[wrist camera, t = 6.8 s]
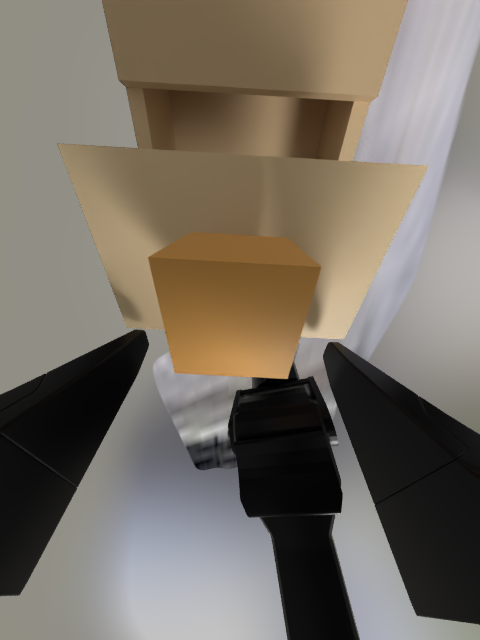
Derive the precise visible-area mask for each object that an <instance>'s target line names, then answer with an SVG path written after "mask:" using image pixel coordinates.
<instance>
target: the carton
mask: <svg viewBox="0 0 480 640" xmlns="http://www.w3.org/2000/svg"><path fill="white" fill-rule="evenodd" d="M407 2H408V0H102V3H103V8H104V13H105V17H106V22H107V27H108V31H109V36H110V41H111V46H112V51H113V55H114V60H115V65H116V70H117V74H118V79H119V81H120V82H121V83H122V84H123V85H124V86H125V87H126V90H127V95H128V100H129V105H130V110H131V115H132V120H133V125H134V130H135V135H136V140H137V145H138V148H141V149H158V150H174V151H191V152H207V153H224V154H241V155H257V156H274V157H290V158H307V159H323V160H340V161H353V158H354V154H355V151H356V148H357V145H358V141H359V138H360V135H361V131H362V128H363V125H364V121H365V118H366V115H367V112H368V108H369V105H370V102H371V101H373V100H374V99H375V98H376V97H378V94H379V91H380V88H381V85H382V82H383V78H384V75H385V72H386V69H387V66H388V62H389V59H390V56H391V53H392V50H393V47H394V43H395V40H396V37H397V34H398V31H399V27H400V24H401V21H402V18H403V15H404V12H405V8H406V5H407Z"/></svg>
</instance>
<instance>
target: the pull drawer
mask: <svg viewBox="0 0 480 640" xmlns="http://www.w3.org/2000/svg"><path fill="white" fill-rule="evenodd" d="M57 145H58V147H59V150H60V153H61V155H62V158H63V161H64V163H65V166H66V168H67V171H68V174H69V176H70V179H71V181H72V184H73V187H74V189H75V192H76V195H77V197H78V200H79V203H80V205H81V208H82V210H83V213H84V216H85V218H86V221H87V224H88V226H89V229H90V232H91V234H92V237H93V239H94V242H95V245H96V247H97V250H98V252H99V255H100V258H101V260H102V263H103V266H104V268H105V271H106V274H107V276H108V279H109V281H110V284H111V287H112V289H113V292H114V295H115V297H116V300H117V303H118V305H119V308H120V311H121V313H122V315H123V318H124V321H125V324H126V326H127V328H144V329H163V330H165V333H166V337H167V341H168V346H169V350H170V354H171V358H172V363H173V367H174V371H175V373H183V374H202V375H221V376H240V377H259V378H278V379H288V376H289V372H290V369H291V366H292V363H293V359H294V356H295V353H296V350H297V346H298V343H299V340H300V337H311V338H329V339H344V338H345V336H346V334H347V332H348V330H349V328H350V326H351V324H352V322H353V320H354V318H355V316H356V314H357V312H358V310H359V308H360V305H361V303H362V301H363V299H364V297H365V295H366V293H367V291H368V289H369V287H370V285H371V283H372V281H373V279H374V277H375V275H376V273H377V271H378V269H379V267H380V265H381V262H382V260H383V258H384V256H385V254H386V252H387V250H388V248H389V246H390V244H391V242H392V240H393V238H394V236H395V234H396V232H397V230H398V228H399V226H400V224H401V221H402V219H403V217H404V215H405V213H406V211H407V209H408V207H409V205H410V203H411V201H412V199H413V197H414V195H415V193H416V191H417V189H418V187H419V185H420V183H421V180H422V178H423V176H424V174H425V172H426V170H427V168H428V166H423V165H406V164H390V163H373V162H357V161H340V160H323V159H307V158H290V157H274V156H257V155H241V154H224V153H207V152H191V151H174V150H158V149H141V148H125V147H107V146H91V145H74V144H57Z"/></svg>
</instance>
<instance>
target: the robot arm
mask: <svg viewBox="0 0 480 640" xmlns="http://www.w3.org/2000/svg"><path fill="white" fill-rule="evenodd" d="M148 347H149V342H148V339H147V335H146V332H145V331H144V330H133V331H131V332H129V333H127V334H125V335H123V336H121V337H119V338H117V339H115V340H113V341H111V342H109V343H107V344H105V345H103V346H101V347H98V348H97V349H94V350H92V351H90V352H88V353H86V354H84V355H82V356H80V357H78V358H76V359H74V360H72V361H70V362H68V363H66V364H64V365H62V366H60V367H58V368H56V369H53V370H52V371H49V372H47V374H43V375H41V376H39V377H37V378H35V379H33V380H31V381H29V382H27V383H25V384H22V385H20V386H18V387H16V388H14V389H12V390H10V391H8V392H5V393H3V394H1V395H0V596H18V595H20V593H21V592H22V590H23V588H24V587H25V585H26V583H27V582H28V580H29V578H30V576H31V574H32V572H33V570H34V568H35V567H36V565H37V563H38V561H39V559H40V557H41V555H42V553H43V551H44V550H45V548H46V546H47V544H48V542H49V540H50V538H51V537H52V535H53V533H54V531H55V529H56V527H57V525H58V523H59V521H60V519H61V518H62V516H63V514H64V512H65V510H66V508H67V506H68V505H69V503H70V501H71V499H72V497H73V495H74V493H75V492H76V490H77V488H76V487H78V486H79V484H80V482H81V480H82V478H83V476H84V474H85V472H86V471H87V469H88V467H89V465H90V463H91V461H92V459H93V457H94V456H95V454H96V452H97V450H98V448H99V446H100V444H101V442H102V441H103V439H104V437H105V435H106V433H107V431H108V429H109V427H110V425H111V424H112V422H113V420H114V418H115V416H116V414H117V412H118V411H119V409H120V406H121V405H122V403H123V401H124V399H125V397H126V395H127V394H128V392H129V390H130V388H131V386H132V384H133V382H134V381H135V379H136V376H137V375H138V372H139V370H140V368H141V365H142V362H143V360H144V357H145V355H146V352H147V350H148ZM298 348H299V343H298V346H297V350H296V353H295V356H294V359H293V363H292V366H291V369H290V372H289V376H288V379H278V378H259V377H252V389H247V390H237V391H236V395H235V399H234V403H233V407H232V411H231V415H230V419H229V423H228V429H229V430H228V437H229V438H230V443H231V447H232V450H233V453H234V454H235V456H236V458H237V465H238V474H239V488H240V499H241V503H242V505H243V507H244V509H245V512H246V514H247V516H248V517H260V519H261V520H262V522H263V523H264V525H265V527H266V528H267V530H268V532H269V533H270V535H271V538H272V543H273V549H274V556H275V562H276V569H277V574H278V581H279V588H280V594H281V601H282V607H283V614H284V620H285V626H286V633H287V639H288V640H360V638H359V634H358V631H357V627H356V623H355V619H354V615H353V612H352V608H351V604H350V600H349V596H348V593H347V589H346V585H345V581H344V578H343V574H342V570H341V566H340V562H339V559H338V555H337V551H336V547H335V543H334V540H333V536H332V529H333V524H334V519H335V514H340V513H341V507H342V490H341V479H340V475H339V472H338V468H337V465H336V462H335V459H334V455H333V452H332V448H331V446H338V439H337V435H336V431H335V428H334V425H333V422H332V419H331V416H330V413H329V410H328V408H327V405H326V403H325V401H324V399H323V397H322V395H321V392H320V390H319V388H318V386H317V384H316V382H315V380H314V378H313V376H311V377H308V378H305V379H299V376H298V373H297V369H296V366H295V363H294V360H295V357H296V354H297V351H298ZM323 360H324V364H325V367H326V371H327V375H328V379H329V383H330V387H331V390H332V392H333V395H334V398H335V400H336V403H337V406H338V408H339V411H340V414H341V416H342V419H343V422H344V424H345V427H346V430H347V432H348V435H349V438H350V440H351V443H352V446H353V448H354V451H355V454H356V456H357V459H358V462H359V464H360V467H361V470H362V472H363V475H364V477H365V480H366V483H367V486H368V488H369V491H370V494H371V496H372V499H373V502H374V504H375V507H376V510H377V513H378V515H379V518H380V521H381V523H382V526H383V529H384V532H385V534H386V537H387V540H388V542H389V544H390V548H391V550H392V553H393V555H394V558H395V561H396V564H397V566H398V569H399V572H400V574H401V577H402V580H403V582H404V585H405V588H406V590H407V593H408V595H409V598H410V601H411V603H412V606H413V608H414V610H415V613H416V615H417V616H421V617H429V618H436V619H444V620H452V621H459V622H466V623H474V624H479V625H480V434H478V433H477V432H475V431H473V430H472V429H470V428H468V427H467V426H465V425H463V424H462V423H460V422H459V421H457V420H455V419H454V418H452V417H451V416H449V415H447V414H446V413H444V412H443V411H441V410H440V409H438V408H437V407H435V406H433V405H432V404H430V403H429V402H427V401H426V400H424V399H423V398H421V397H418V395H416V394H415V393H414V392H412V391H411V390H409V389H408V388H406V387H405V386H403V385H402V384H400V383H399V382H397V381H396V380H394V379H393V378H391V377H390V376H388V375H387V374H385V373H384V372H382V371H381V370H379V369H378V368H376V367H374V366H373V365H372V364H370V363H369V362H367V361H366V360H364V359H363V358H361V357H360V356H358V355H357V354H355V353H354V352H352V351H351V350H349V349H348V348H346V347H345V346H343V345H342V344H340V343H338V342H329V343H328V344H327V347H326V349H325V351H324V354H323Z"/></svg>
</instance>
